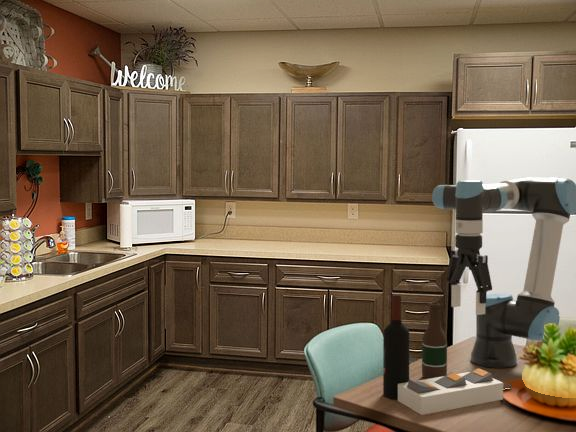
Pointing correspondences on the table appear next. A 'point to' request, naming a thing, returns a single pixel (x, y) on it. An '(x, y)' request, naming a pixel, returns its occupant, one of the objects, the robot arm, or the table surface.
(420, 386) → the rocker
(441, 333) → the beer bottle
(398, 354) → the wine bottle
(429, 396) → the power strip
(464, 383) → the rocker
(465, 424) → the table surface
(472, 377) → the rocker
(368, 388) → the table surface
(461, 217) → the robot arm
